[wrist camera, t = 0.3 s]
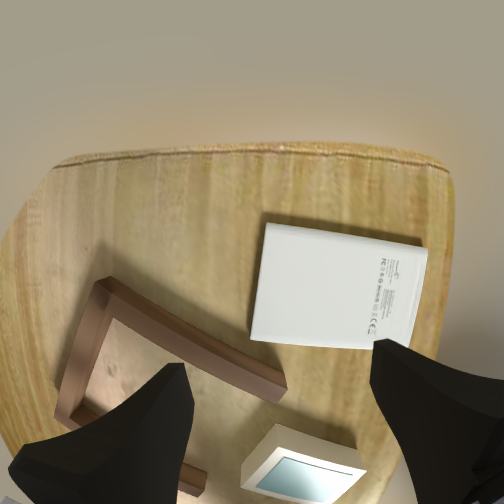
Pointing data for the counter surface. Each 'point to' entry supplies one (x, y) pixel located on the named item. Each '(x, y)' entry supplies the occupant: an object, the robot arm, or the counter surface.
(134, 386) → the counter surface
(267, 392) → the frame
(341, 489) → the card box
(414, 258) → the external hard drive
